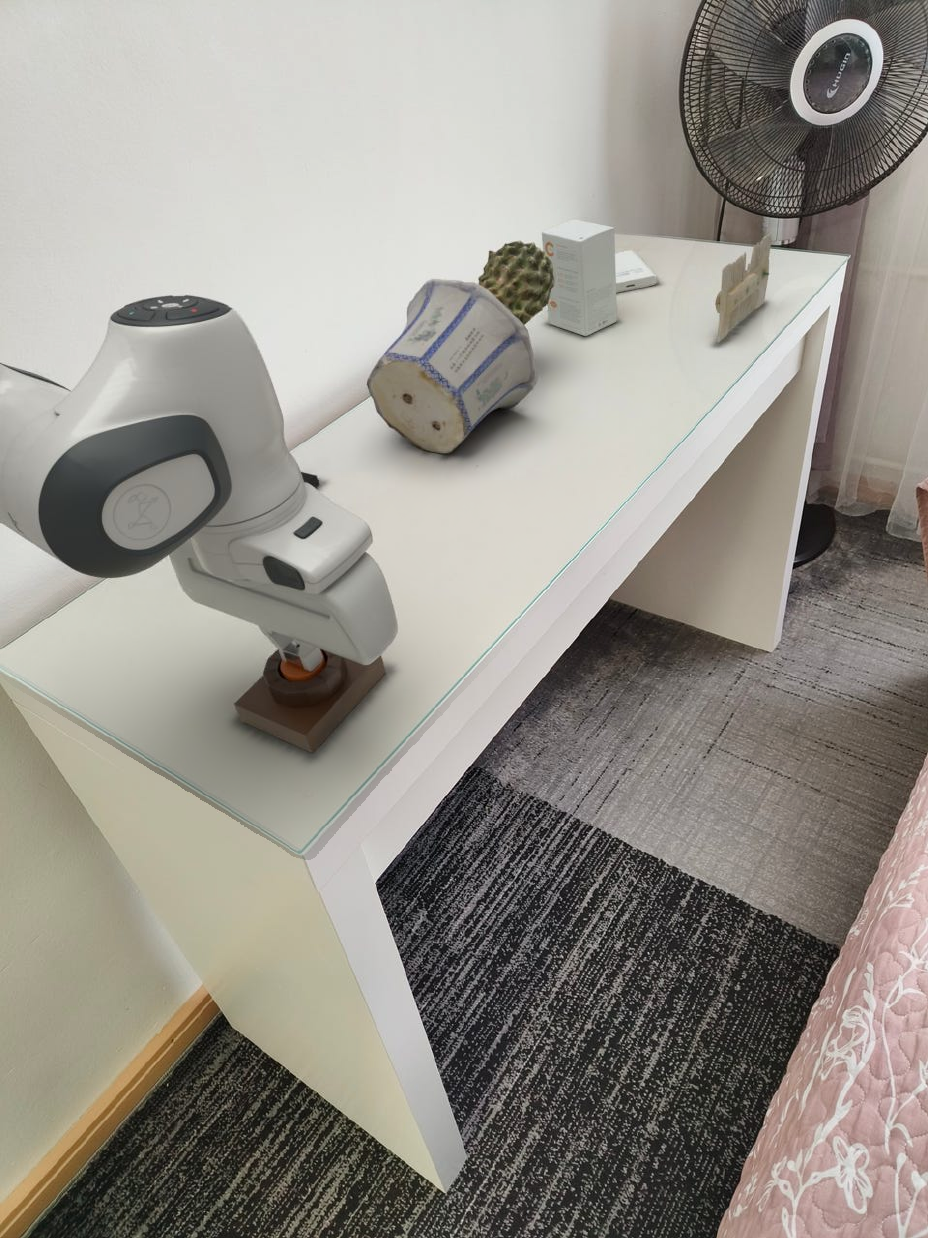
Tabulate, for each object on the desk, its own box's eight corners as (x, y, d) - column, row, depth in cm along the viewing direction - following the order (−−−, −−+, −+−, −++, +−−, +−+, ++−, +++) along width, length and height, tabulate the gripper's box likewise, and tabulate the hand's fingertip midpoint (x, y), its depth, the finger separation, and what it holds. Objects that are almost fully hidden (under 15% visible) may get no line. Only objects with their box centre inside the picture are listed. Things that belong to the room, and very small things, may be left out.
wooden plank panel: (754, 301, 120) (760, 227, 113) (771, 303, 119) (778, 228, 112) (710, 344, 112) (714, 267, 105) (727, 346, 110) (733, 269, 104)
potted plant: (457, 360, 85) (585, 190, 97) (326, 347, 94) (458, 194, 106) (505, 484, 98) (612, 321, 110) (385, 462, 107) (497, 314, 120)
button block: (312, 754, 67) (299, 720, 65) (241, 721, 71) (226, 688, 69) (386, 672, 73) (376, 638, 71) (316, 646, 77) (305, 613, 75)
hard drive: (633, 259, 139) (657, 284, 129) (584, 269, 139) (604, 295, 129) (633, 249, 138) (657, 274, 128) (584, 258, 138) (604, 284, 128)
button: (309, 697, 69) (304, 682, 68) (277, 684, 70) (271, 669, 69) (337, 668, 71) (332, 653, 70) (305, 656, 73) (299, 641, 71)
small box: (618, 321, 121) (615, 226, 113) (585, 337, 119) (580, 241, 110) (579, 309, 126) (574, 217, 118) (547, 324, 124) (540, 231, 116)
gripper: (125, 517, 64) (190, 650, 73) (331, 583, 54) (377, 728, 63) (185, 474, 67) (240, 606, 76) (389, 529, 57) (424, 672, 66)
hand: (303, 661), depth 69 cm, fingers closed, pressing on button
